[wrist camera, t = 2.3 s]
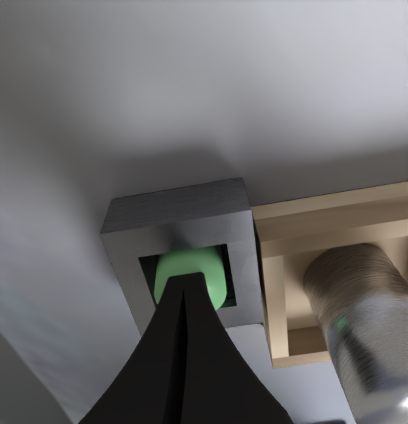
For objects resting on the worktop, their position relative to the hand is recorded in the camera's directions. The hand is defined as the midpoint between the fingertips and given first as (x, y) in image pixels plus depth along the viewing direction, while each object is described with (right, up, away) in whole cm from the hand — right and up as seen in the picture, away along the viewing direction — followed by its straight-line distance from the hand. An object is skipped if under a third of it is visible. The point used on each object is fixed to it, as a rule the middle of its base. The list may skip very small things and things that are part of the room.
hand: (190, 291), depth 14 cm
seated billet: (+7, 0, +3) cm, 8 cm away
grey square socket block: (0, +2, +3) cm, 3 cm away
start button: (0, +2, +3) cm, 3 cm away
